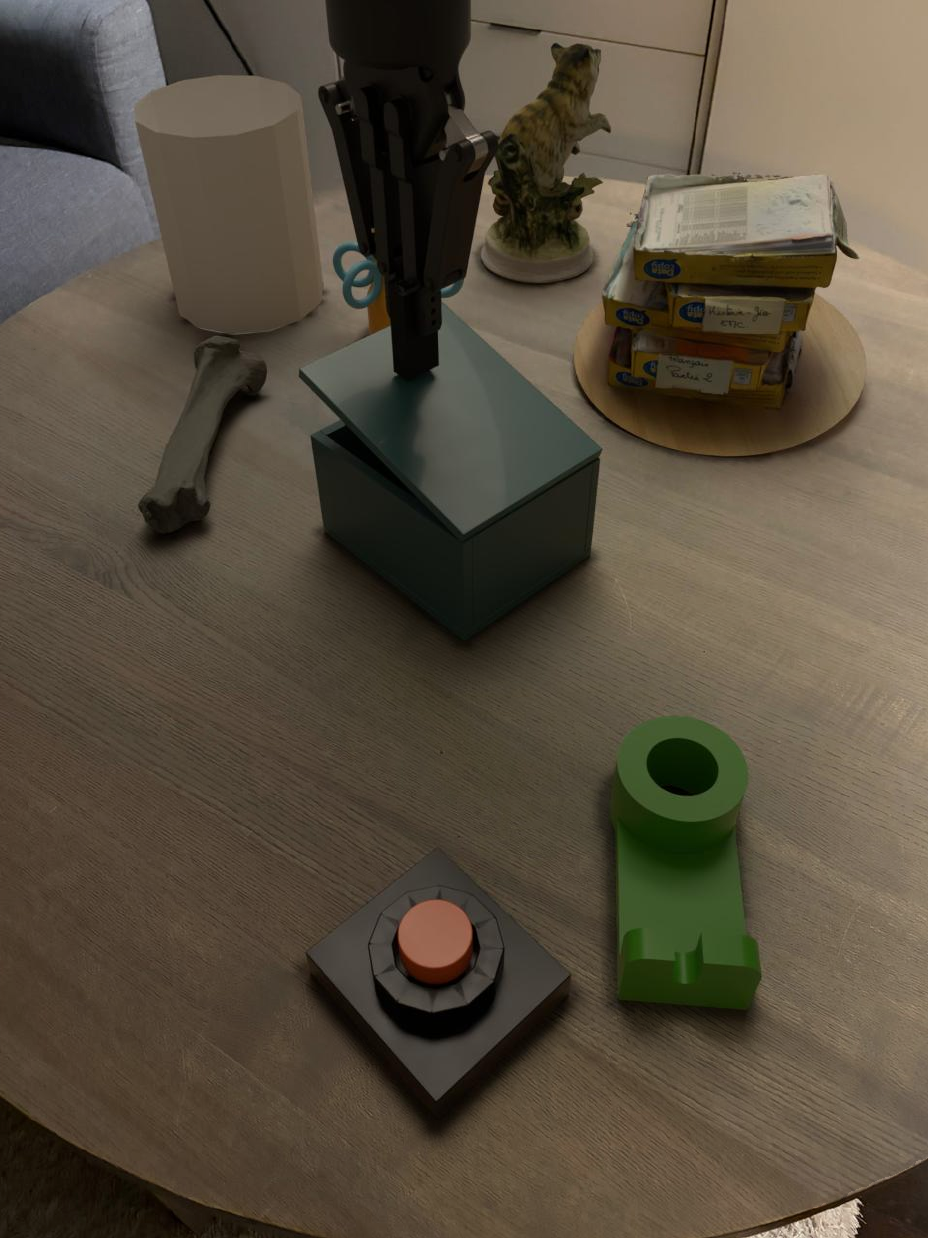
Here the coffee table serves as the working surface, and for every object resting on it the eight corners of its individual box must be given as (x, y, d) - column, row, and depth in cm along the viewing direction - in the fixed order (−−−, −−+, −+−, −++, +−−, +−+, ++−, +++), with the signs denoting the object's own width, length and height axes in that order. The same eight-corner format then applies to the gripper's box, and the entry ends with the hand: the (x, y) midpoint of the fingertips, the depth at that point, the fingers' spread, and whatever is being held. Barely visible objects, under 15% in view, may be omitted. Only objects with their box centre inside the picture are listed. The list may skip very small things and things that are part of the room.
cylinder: (387, 382, 92) (374, 217, 82) (316, 337, 98) (296, 177, 87) (487, 332, 98) (488, 172, 87) (415, 292, 103) (408, 136, 93)
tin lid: (298, 376, 69) (298, 368, 69) (440, 309, 75) (441, 300, 74) (461, 542, 64) (463, 534, 63) (599, 456, 70) (603, 448, 69)
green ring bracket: (609, 760, 63) (616, 711, 60) (727, 767, 63) (741, 719, 60) (611, 999, 53) (620, 956, 50) (753, 1010, 53) (772, 968, 49)
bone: (204, 378, 93) (189, 317, 89) (276, 379, 93) (264, 318, 88) (131, 542, 78) (109, 478, 74) (217, 545, 78) (200, 480, 73)
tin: (323, 531, 79) (310, 434, 72) (448, 460, 84) (445, 365, 78) (464, 641, 70) (462, 544, 64) (591, 555, 76) (600, 458, 70)
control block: (569, 994, 53) (574, 957, 50) (437, 1120, 49) (434, 1088, 46) (439, 867, 58) (436, 828, 56) (309, 971, 54) (300, 935, 51)
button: (488, 951, 51) (488, 934, 50) (432, 1000, 49) (431, 984, 48) (439, 902, 53) (438, 885, 52) (384, 948, 51) (382, 931, 50)
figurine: (622, 256, 108) (644, 45, 94) (527, 299, 102) (534, 82, 88) (546, 218, 114) (555, 15, 100) (451, 257, 108) (447, 47, 94)
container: (258, 247, 110) (228, 63, 97) (354, 290, 104) (336, 99, 91) (147, 300, 103) (99, 109, 90) (243, 350, 96) (205, 151, 83)
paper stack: (823, 488, 81) (883, 290, 69) (530, 411, 89) (538, 221, 77) (881, 336, 97) (938, 153, 85) (627, 281, 104) (647, 106, 92)
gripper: (260, -47, 54) (312, 351, 71) (425, 9, 48) (439, 434, 65) (372, -74, 58) (396, 311, 75) (540, -25, 51) (525, 386, 68)
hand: (416, 368), depth 70 cm, fingers closed
